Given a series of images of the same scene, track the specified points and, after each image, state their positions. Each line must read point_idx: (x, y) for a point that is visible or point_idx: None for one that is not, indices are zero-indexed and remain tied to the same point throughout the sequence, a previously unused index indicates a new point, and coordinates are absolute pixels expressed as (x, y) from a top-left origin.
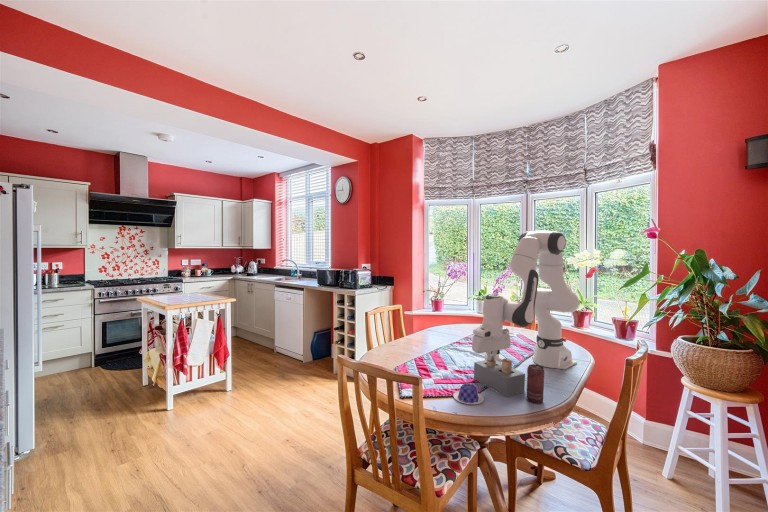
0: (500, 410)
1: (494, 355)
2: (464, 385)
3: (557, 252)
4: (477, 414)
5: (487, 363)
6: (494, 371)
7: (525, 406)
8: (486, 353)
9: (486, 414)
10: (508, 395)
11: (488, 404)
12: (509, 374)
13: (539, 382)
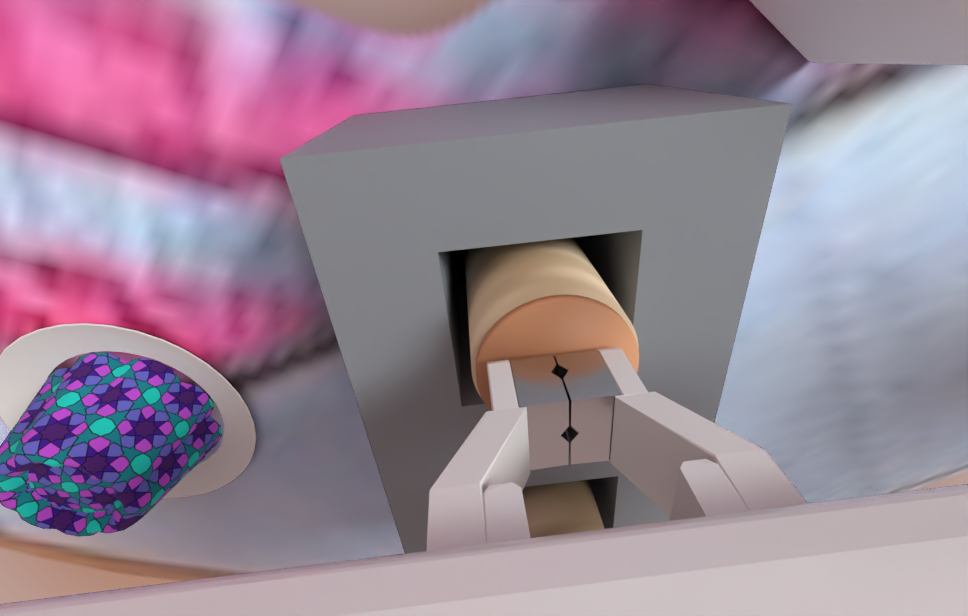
0: (300, 548)
1: (628, 471)
2: (26, 471)
3: None
4: (140, 552)
5: (469, 335)
6: (409, 507)
7: None
8: (447, 480)
9: (197, 559)
10: None
11: (259, 498)
12: None
13: None
